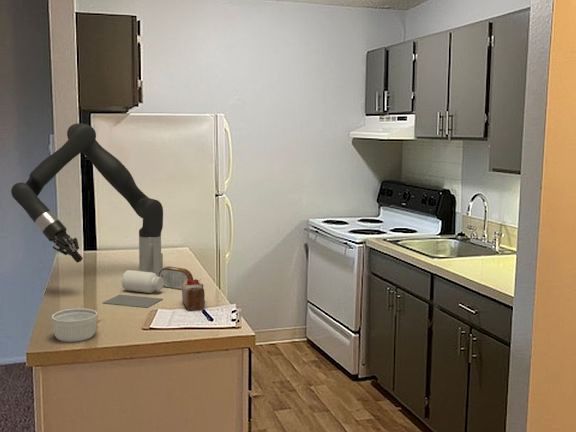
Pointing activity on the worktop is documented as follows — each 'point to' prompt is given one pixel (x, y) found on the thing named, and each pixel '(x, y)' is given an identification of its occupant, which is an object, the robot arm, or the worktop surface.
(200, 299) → the food item
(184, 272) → the tin
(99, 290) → the worktop surface
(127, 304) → the mat
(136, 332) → the worktop surface
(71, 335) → the ramekin
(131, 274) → the pill bottle
